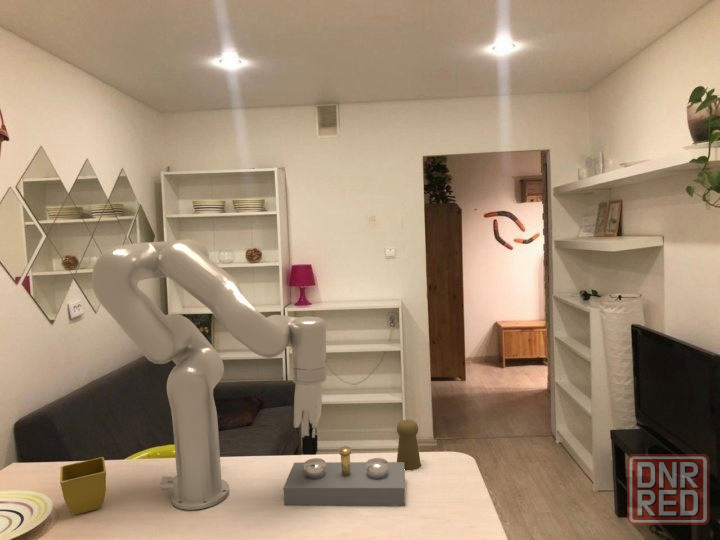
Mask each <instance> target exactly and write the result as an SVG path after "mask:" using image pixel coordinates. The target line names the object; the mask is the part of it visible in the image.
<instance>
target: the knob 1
mask: <svg viewBox="0 0 720 540" xmlns="http://www.w3.org/2000/svg"><path fill="white" fill-rule="evenodd" d="M304 462H305V463H304V474H305V477H307V478H309V479H318V478H321V477H323V476H325V474H326V464H325V462H326V460H325V459H322V458H318V457H316V458H315V457H314V458H310V459H307V460H305V461H304Z"/></svg>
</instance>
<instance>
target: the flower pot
mask: <svg viewBox="0 0 720 540" xmlns="http://www.w3.org/2000/svg"><path fill="white" fill-rule="evenodd" d="M59 483H60V488H61V491H62V496H63V501H64V502H65V505H66V507H67V508H68V510H69V512H71V513H72V514H73V515H75V516H76V515H80V514H83V513H87V512H91V511H96V510H99V509H100V508H101V507H102V506H103V502H104V500H105V497H106V493H107V492H106V491H107V469H106V461H105V458H104V456H100V457H97V458H92V459H87V460H84V461H79V462H74V463H70V464H69V463H68V464H66V465H63V466H61V467H60V476H59Z"/></svg>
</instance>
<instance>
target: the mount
mask: <svg viewBox="0 0 720 540" xmlns="http://www.w3.org/2000/svg"><path fill="white" fill-rule="evenodd" d="M366 462H367V461H366ZM366 462H365V461H364V462H363V461H361V462H356V461H355V462H354V461H353V462H351V461H350V471H351V475H350V476H348V477H344V476H342V469H341V461H340V462H339V461H338V462H336V461H334V462H331V461H330V462H326V461H325V464H326V474H325V476H323V477H321V478H318V479H309V478H307V477H305V474H304V463H305V461H304V462H301V461H300V462H294V463H293V465H292V467H291V469H290V471H289V474H288V476H287V478H286V480H285V483H284V485H283V504H284V506H286V507H287V506H290V507H292V506H293V507H294V506H295V507H296V506H301V507H308V506H309V507H311V506H312V507H313V506H314V507H316V506H317V507H321V506H322V507H323V506H325V507H327V506H328V507H334V506H336V507H338V506H339V507H340V506H341V507H344V506H345V507H349V506H350V507H363V506H364V507H405V506H406V481H405V480H406V479H405V478H406V476H405V475H406V474H405V471H406V470H404V462H397V461H387V462H388V475H387V476H386V477H384V478H381V479H373V478H370V477H368V476H367V471H366Z"/></svg>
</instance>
